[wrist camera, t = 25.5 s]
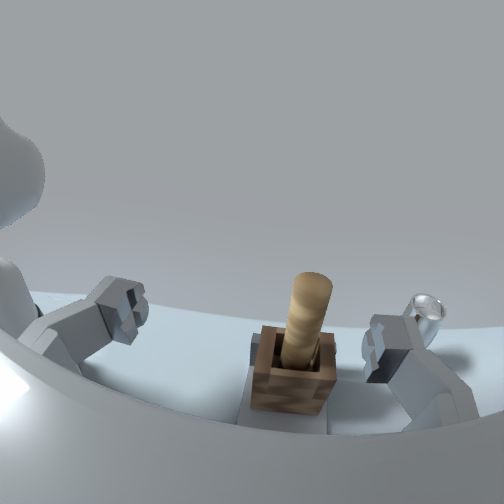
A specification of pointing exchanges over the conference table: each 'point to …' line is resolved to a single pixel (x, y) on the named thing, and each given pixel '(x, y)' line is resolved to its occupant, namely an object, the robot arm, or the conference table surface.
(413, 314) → the beer glass
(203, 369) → the conference table surface
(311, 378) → the socket block
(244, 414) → the rail base
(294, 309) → the dowel
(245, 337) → the conference table surface
